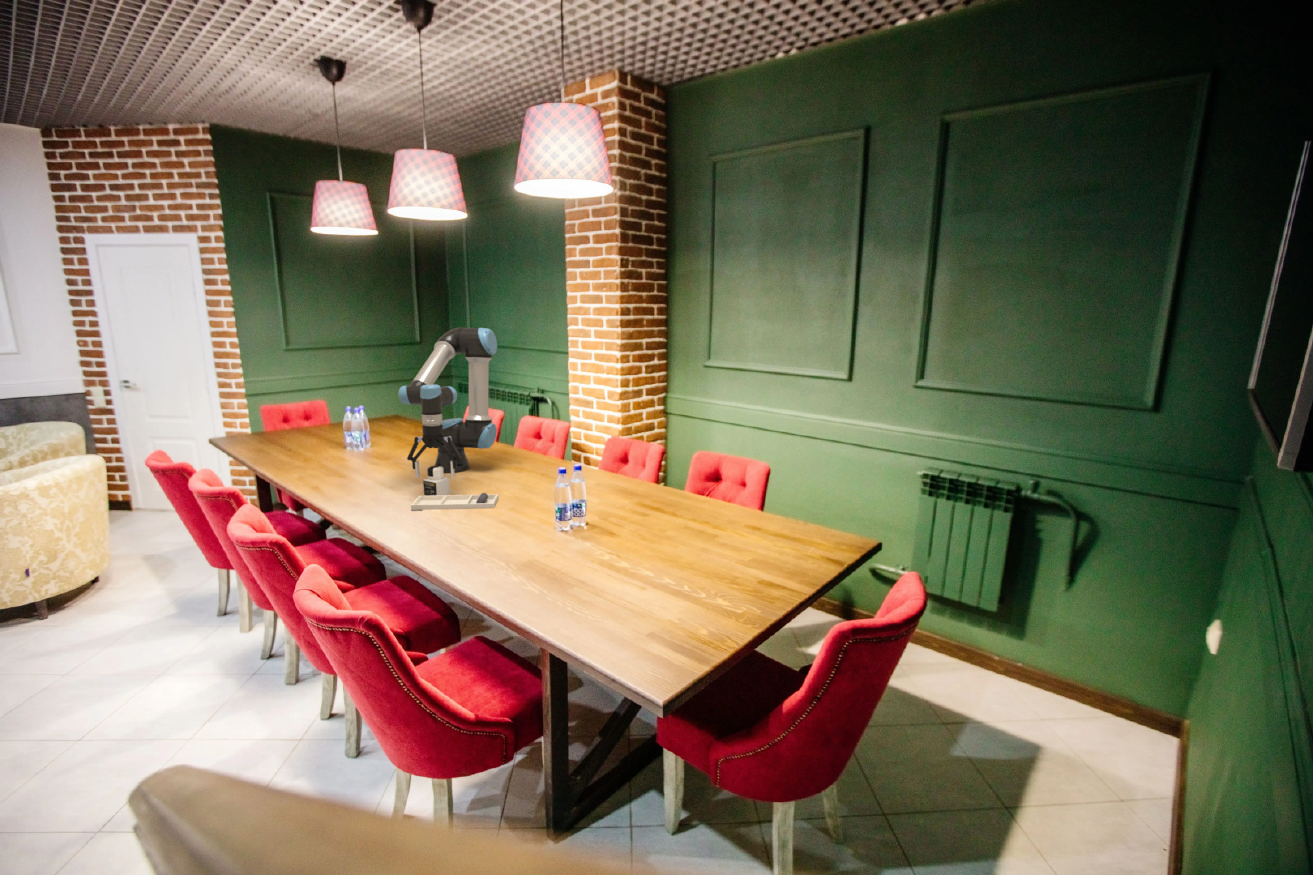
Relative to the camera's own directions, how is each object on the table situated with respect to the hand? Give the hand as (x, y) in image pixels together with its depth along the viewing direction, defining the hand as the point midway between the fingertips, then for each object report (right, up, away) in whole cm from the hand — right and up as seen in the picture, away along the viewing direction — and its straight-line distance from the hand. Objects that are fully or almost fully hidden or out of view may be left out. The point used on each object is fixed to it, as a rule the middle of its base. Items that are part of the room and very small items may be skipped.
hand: (435, 477), depth 252 cm
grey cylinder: (+21, -10, -8) cm, 24 cm away
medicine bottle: (0, -8, +2) cm, 8 cm away
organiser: (+11, -10, -9) cm, 18 cm away
